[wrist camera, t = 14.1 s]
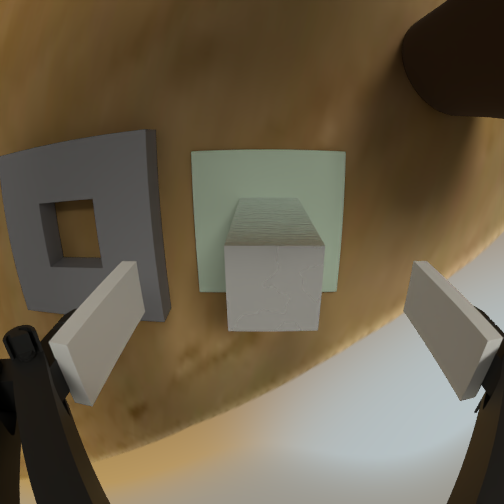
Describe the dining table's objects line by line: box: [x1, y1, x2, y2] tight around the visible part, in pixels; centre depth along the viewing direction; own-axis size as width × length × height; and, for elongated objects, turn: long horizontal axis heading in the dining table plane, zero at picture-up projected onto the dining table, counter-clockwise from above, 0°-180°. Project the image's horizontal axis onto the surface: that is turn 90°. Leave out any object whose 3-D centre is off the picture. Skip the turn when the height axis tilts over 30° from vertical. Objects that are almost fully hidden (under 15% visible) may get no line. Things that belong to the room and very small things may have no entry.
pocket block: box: [0, 129, 171, 322], centre depth 26 cm, size 16×16×2 cm
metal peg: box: [224, 198, 325, 331], centre depth 20 cm, size 4×4×12 cm
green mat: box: [191, 149, 346, 292], centre depth 26 cm, size 12×12×1 cm
